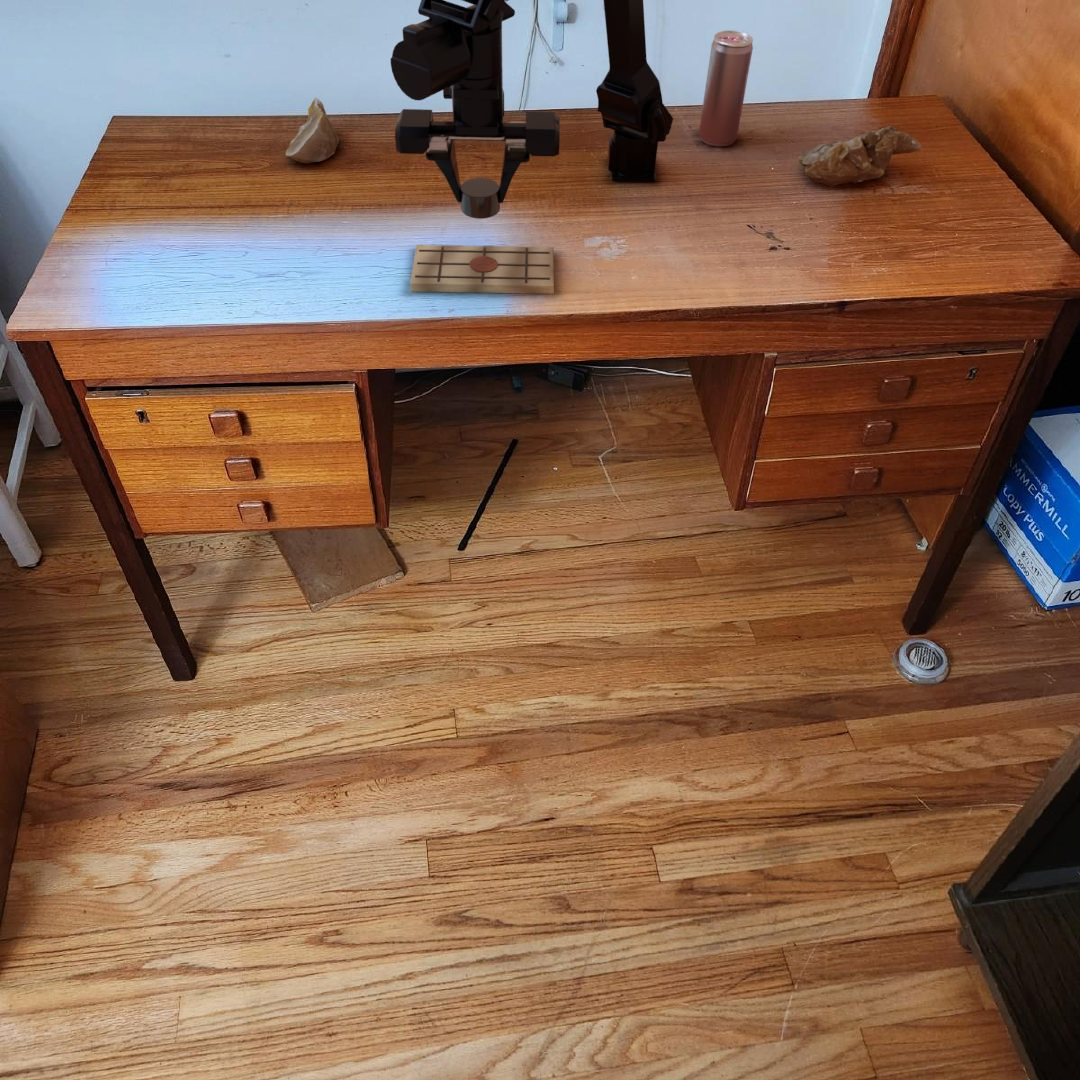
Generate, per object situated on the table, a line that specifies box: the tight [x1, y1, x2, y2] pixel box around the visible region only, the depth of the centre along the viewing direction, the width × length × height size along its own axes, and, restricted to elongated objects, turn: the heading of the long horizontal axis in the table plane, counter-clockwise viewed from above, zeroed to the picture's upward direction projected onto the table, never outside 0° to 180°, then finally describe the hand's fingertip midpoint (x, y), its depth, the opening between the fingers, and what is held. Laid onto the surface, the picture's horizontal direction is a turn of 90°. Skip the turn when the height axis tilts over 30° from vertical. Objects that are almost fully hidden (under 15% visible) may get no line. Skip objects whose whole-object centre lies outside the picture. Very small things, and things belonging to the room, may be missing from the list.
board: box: [409, 244, 555, 295], centre depth 123 cm, size 18×9×1 cm, turn 90°
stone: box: [285, 97, 339, 164], centre depth 144 cm, size 7×6×15 cm
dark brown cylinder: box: [460, 177, 501, 220], centre depth 117 cm, size 5×5×3 cm
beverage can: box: [698, 30, 754, 148], centre depth 144 cm, size 6×6×15 cm
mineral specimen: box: [797, 125, 922, 187], centre depth 141 cm, size 13×7×15 cm
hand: (480, 201), depth 117 cm, fingers closed on dark brown cylinder, 5 cm apart
